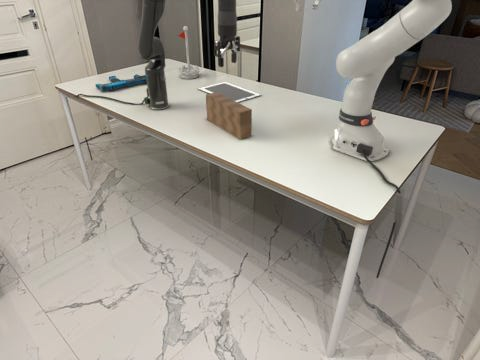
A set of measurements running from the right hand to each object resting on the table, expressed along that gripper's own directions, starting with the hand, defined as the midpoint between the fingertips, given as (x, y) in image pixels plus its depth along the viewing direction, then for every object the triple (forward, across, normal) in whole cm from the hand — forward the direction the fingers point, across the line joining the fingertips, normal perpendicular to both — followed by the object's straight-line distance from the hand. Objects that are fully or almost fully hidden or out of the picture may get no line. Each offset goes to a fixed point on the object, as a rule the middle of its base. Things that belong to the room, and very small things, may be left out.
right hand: (306, 10), depth 134 cm
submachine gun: (+46, -45, +104) cm, 122 cm away
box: (+47, -30, +13) cm, 57 cm away
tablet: (+46, -3, +52) cm, 70 cm away
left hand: (+20, -28, +16) cm, 38 cm away
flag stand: (+46, -6, +93) cm, 104 cm away
